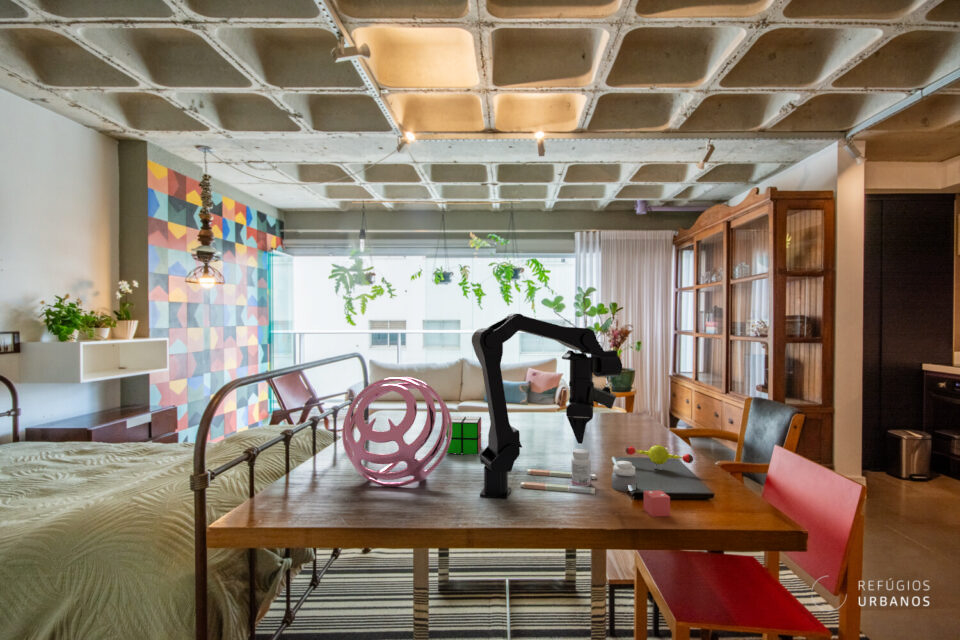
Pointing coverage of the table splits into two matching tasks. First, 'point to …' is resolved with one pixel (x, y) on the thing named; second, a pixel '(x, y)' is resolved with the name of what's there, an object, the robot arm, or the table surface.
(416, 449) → the pink openwork sphere
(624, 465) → the dome
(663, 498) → the red die
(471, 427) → the puzzle cube
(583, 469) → the pill bottle
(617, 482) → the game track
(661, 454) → the molecule model
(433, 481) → the table surface
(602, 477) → the table surface
